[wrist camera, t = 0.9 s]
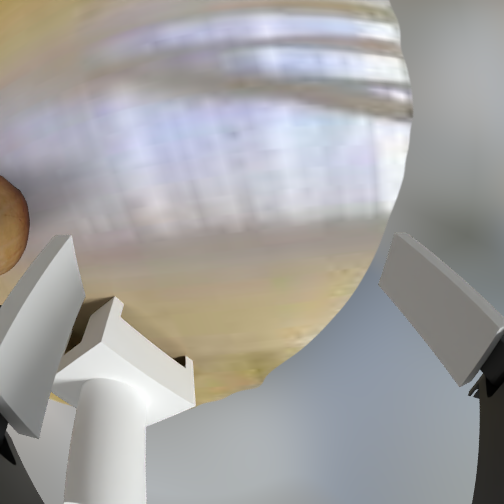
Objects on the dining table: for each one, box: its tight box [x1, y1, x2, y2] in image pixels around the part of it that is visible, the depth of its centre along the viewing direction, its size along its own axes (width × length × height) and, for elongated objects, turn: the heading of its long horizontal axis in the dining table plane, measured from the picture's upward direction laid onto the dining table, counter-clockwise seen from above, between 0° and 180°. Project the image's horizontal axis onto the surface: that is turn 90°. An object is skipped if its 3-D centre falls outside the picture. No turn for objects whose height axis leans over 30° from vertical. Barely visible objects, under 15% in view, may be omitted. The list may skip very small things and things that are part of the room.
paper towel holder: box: [51, 296, 196, 504], centre depth 34 cm, size 19×19×30 cm
